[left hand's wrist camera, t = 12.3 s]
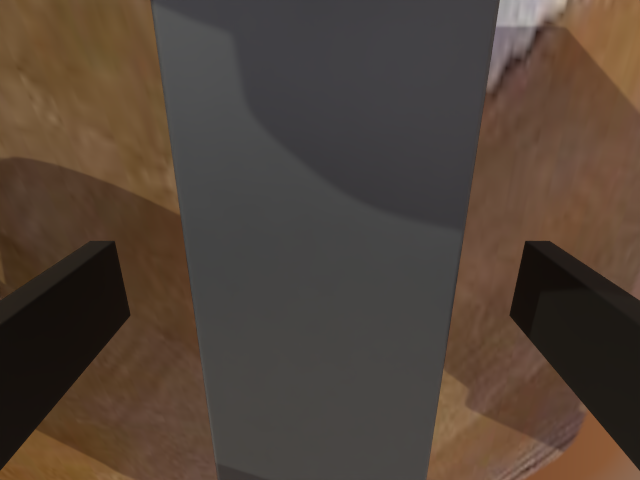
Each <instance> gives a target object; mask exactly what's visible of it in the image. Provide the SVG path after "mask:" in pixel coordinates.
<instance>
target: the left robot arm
mask: <svg viewBox="0 0 640 480" xmlns="http://www.w3.org/2000/svg"><path fill="white" fill-rule="evenodd" d="M129 317H130V311H129V306H128V301H127V297H126V292H125V287H124V283H123V278H122V273H121V269H120V264H119V259H118V255H117V250H116V245H115V241H90V242H88V243H87V244H85V245H84V246H82V247H81V248H79V249H78V250H76V251H75V252H73V253H72V254H70V255H69V256H67V257H66V258H64V259H63V260H61V261H60V262H58V263H56V264H55V265H53V266H52V267H50V268H49V269H47V270H46V271H44V272H43V273H41V274H40V275H38V276H37V277H35V278H34V279H32V280H31V281H29V282H28V283H26V284H25V285H23V286H22V287H20V288H19V289H17V290H16V291H14V292H13V293H11V294H10V295H8V296H7V297H5V298H4V299H2V300H0V470H1V469H2V468H3V467H4V466H5V464H6V463H7V462H8V461H9V460H10V458H11V457H12V456H13V455H14V454H15V452H16V451H17V450H18V449H19V448H20V446H21V445H22V444H23V443H24V442H25V441H26V439H27V438H28V437H29V436H30V435H31V433H32V432H33V431H34V430H35V429H36V427H37V426H38V425H39V424H40V423H41V421H42V420H43V419H44V418H45V417H46V415H47V414H48V413H49V412H50V411H51V410H52V408H53V407H54V406H55V405H56V404H57V402H58V401H59V400H60V399H61V398H62V396H63V395H64V394H65V393H66V392H67V390H68V389H69V388H70V387H71V386H72V384H73V383H74V382H75V381H76V380H77V379H78V377H79V376H80V375H81V374H82V373H83V371H84V370H85V369H86V368H87V367H88V365H89V364H90V363H91V362H92V361H93V359H94V358H95V357H96V356H97V355H98V353H99V352H100V351H101V350H102V349H103V348H104V346H105V345H106V344H107V343H108V342H109V340H110V339H111V338H112V337H113V336H114V334H115V333H116V332H117V331H118V330H119V328H120V327H121V326H122V325H123V324H124V322H125V321H126V320H127V319H128V318H129ZM510 317H511V318H512V319H513V320H514V321H515V322H516V324H517V325H518V326H519V327H520V328H521V330H522V331H523V332H524V333H525V334H526V336H527V337H528V338H529V339H530V340H531V342H532V343H533V344H534V345H535V346H536V348H537V349H538V350H539V351H540V352H541V353H542V355H543V356H544V357H545V358H546V359H547V361H548V362H549V363H550V364H551V365H552V367H553V368H554V369H555V370H556V371H557V373H558V374H559V375H560V376H561V377H562V379H563V380H564V381H565V382H566V383H567V384H568V386H569V387H570V388H571V389H572V390H573V392H574V393H575V394H576V395H577V396H578V398H579V399H580V400H581V401H582V402H583V404H584V405H585V406H586V407H587V408H588V410H589V411H590V412H591V413H592V414H593V415H594V417H595V418H596V419H597V420H598V421H599V423H600V424H601V425H602V426H603V427H604V429H605V430H606V431H607V432H608V433H609V435H610V436H611V437H612V438H613V439H614V440H615V442H616V443H617V444H618V445H619V446H620V448H621V449H622V450H623V451H624V452H625V454H626V455H627V456H628V457H629V458H630V460H631V461H632V462H633V463H634V464H635V466H636V467H637V468H638V469H639V470H640V300H638V299H636V298H635V297H633V296H632V295H630V294H629V293H627V292H626V291H624V290H623V289H621V288H620V287H618V286H617V285H615V284H614V283H612V282H611V281H609V280H608V279H606V278H605V277H603V276H602V275H600V274H599V273H597V272H596V271H594V270H593V269H591V268H590V267H588V266H587V265H585V264H584V263H582V262H580V261H579V260H577V259H576V258H574V257H573V256H571V255H570V254H568V253H567V252H565V251H564V250H562V249H561V248H559V247H558V246H556V245H555V244H553V243H552V242H550V241H525V245H524V250H523V255H522V259H521V264H520V269H519V273H518V278H517V283H516V287H515V292H514V297H513V301H512V306H511V311H510Z"/></svg>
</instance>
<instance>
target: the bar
mask: <svg viewBox="0 0 640 480" xmlns="http://www.w3.org/2000/svg"><path fill="white" fill-rule="evenodd" d="M499 2H500V0H151V7H152V14H153V21H154V29H155V36H156V43H157V50H158V57H159V64H160V71H161V78H162V86H163V93H164V100H165V107H166V114H167V121H168V128H169V136H170V143H171V150H172V157H173V164H174V171H175V178H176V186H177V193H178V200H179V207H180V214H181V221H182V228H183V236H184V243H185V250H186V257H187V264H188V271H189V278H190V286H191V293H192V300H193V307H194V314H195V321H196V328H197V336H198V343H199V350H200V357H201V364H202V371H203V378H204V385H205V393H206V400H207V407H208V414H209V421H210V428H211V435H212V443H213V450H214V457H215V464H216V471H217V478H218V480H426V478H427V472H428V465H429V459H430V452H431V445H432V439H433V432H434V426H435V419H436V413H437V406H438V400H439V393H440V387H441V380H442V374H443V367H444V361H445V354H446V348H447V341H448V335H449V328H450V321H451V315H452V308H453V302H454V295H455V289H456V282H457V276H458V269H459V263H460V256H461V250H462V243H463V237H464V230H465V224H466V217H467V210H468V204H469V197H470V191H471V184H472V178H473V171H474V165H475V158H476V152H477V145H478V139H479V132H480V126H481V119H482V113H483V106H484V100H485V93H486V86H487V80H488V73H489V67H490V60H491V54H492V47H493V41H494V34H495V28H496V21H497V15H498V8H499Z"/></svg>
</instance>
